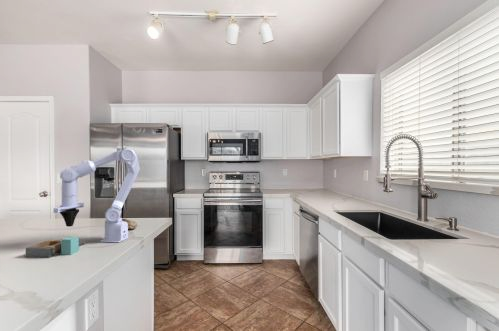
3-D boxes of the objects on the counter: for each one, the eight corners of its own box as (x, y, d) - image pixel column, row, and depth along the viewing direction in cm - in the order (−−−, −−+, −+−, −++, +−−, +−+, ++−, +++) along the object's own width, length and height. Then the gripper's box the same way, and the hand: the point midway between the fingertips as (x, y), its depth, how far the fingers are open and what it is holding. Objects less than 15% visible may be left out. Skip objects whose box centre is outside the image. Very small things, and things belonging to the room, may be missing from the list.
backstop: (84, 244, 110) (84, 236, 110) (52, 257, 93) (52, 248, 93) (59, 243, 111) (59, 235, 111) (23, 256, 94) (23, 247, 94)
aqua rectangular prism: (78, 251, 101) (78, 236, 101) (70, 255, 97) (70, 239, 97) (69, 251, 101) (69, 236, 101) (61, 254, 97) (61, 239, 97)
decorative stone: (134, 216, 147) (140, 223, 136) (134, 223, 148) (140, 231, 136) (117, 217, 142) (121, 226, 130) (116, 225, 142) (121, 234, 130)
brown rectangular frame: (68, 249, 103) (68, 240, 103) (52, 255, 95) (52, 246, 95) (48, 248, 104) (48, 240, 104) (30, 255, 96) (30, 246, 96)
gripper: (74, 193, 116) (74, 222, 116) (46, 197, 102) (46, 230, 102) (88, 193, 116) (88, 222, 116) (62, 197, 102) (62, 230, 102)
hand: (69, 226), depth 109 cm, fingers closed
